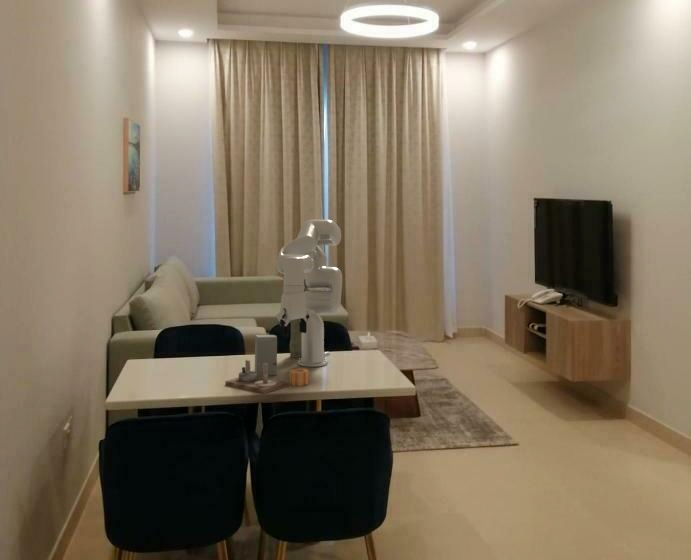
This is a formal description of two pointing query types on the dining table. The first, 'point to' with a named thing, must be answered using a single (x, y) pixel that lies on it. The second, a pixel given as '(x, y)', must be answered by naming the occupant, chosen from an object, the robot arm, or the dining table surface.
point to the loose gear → (299, 377)
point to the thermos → (296, 336)
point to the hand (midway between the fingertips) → (294, 334)
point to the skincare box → (266, 354)
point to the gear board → (256, 380)
